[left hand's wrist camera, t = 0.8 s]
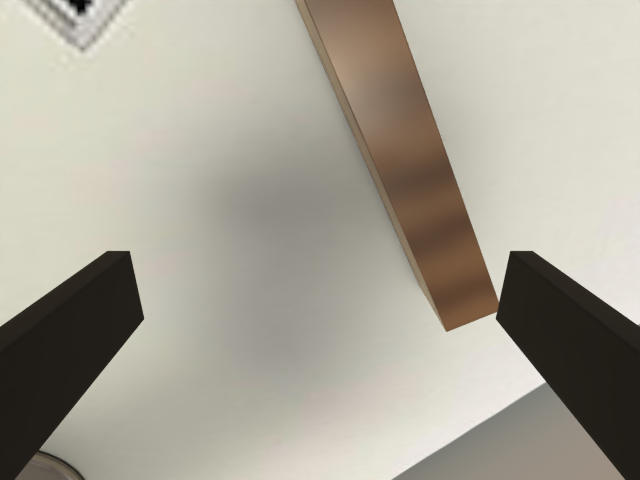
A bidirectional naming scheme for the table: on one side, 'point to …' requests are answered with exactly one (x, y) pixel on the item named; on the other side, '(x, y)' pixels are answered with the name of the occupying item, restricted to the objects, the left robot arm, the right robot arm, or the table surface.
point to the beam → (402, 151)
